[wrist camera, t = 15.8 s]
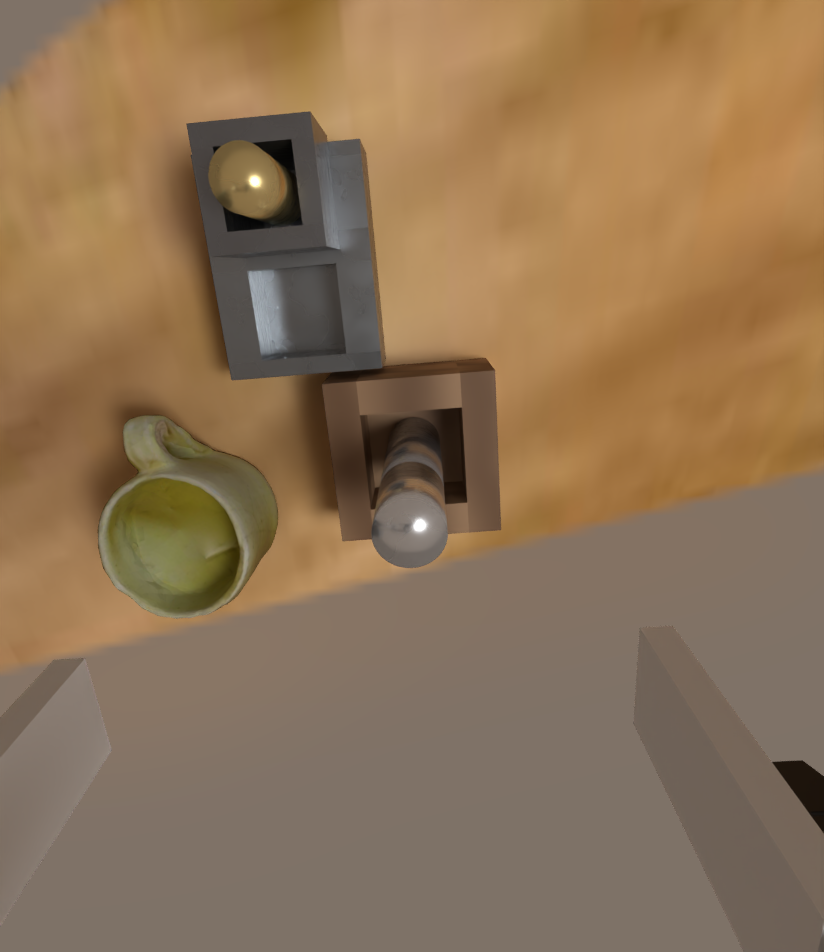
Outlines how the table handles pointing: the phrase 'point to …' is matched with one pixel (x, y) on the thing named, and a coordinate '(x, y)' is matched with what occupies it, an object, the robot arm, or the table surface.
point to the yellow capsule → (254, 184)
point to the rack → (425, 396)
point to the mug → (184, 522)
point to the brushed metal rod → (411, 497)
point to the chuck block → (294, 255)
